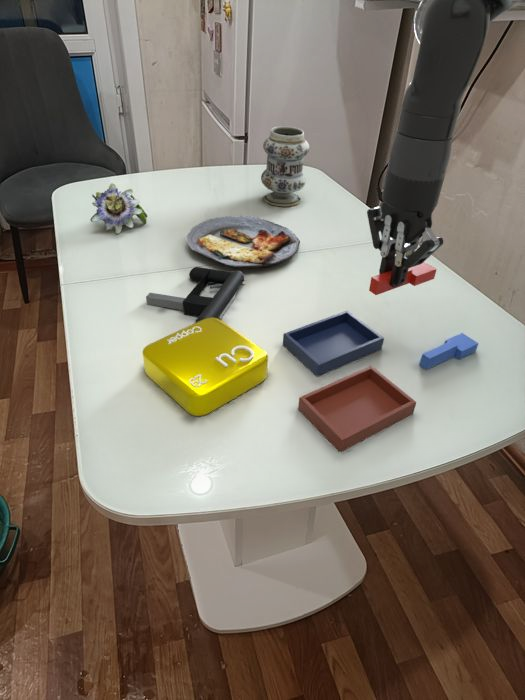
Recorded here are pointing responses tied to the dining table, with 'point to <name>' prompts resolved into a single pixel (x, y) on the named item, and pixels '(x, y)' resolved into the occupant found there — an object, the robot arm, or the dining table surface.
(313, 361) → the navy tray
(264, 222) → the food plate
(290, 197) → the apothecary jar
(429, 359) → the blue stepped block
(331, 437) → the rust tray
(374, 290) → the red stepped block
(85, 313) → the dining table surface
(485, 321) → the dining table surface
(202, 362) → the element tile
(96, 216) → the passion flower
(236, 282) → the door handle
